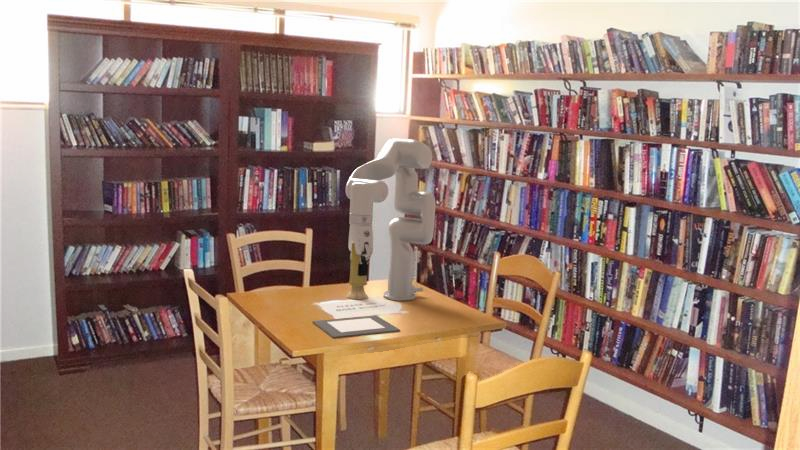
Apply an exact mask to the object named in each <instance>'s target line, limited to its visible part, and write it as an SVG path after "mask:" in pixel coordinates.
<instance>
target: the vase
mask: <svg viewBox="0 0 800 450" xmlns="http://www.w3.org/2000/svg"><path fill="white" fill-rule="evenodd" d="M362 254H365V253H362ZM363 257H365V256H362V259H363ZM358 264H360V263H359V255H358V254H356V251H355V243H354V242H352V251H351V266H350V265H349V279H348V280H349V281H348V285H349V286H352V285H353V286H367V285H368V280H367V279H368V275H367V276H358Z"/></svg>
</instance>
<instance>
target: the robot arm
mask: <svg viewBox="0 0 800 450" xmlns="http://www.w3.org/2000/svg"><path fill="white" fill-rule="evenodd" d="M432 160H433V152H432V150H431V148H430V146H428V145H426V144H425V143H424V142H422V141H420V140H418V139H413V138H412V139H411V138H398V137H397V138H396V137H395V138H390V139H387V141H386V142H385V143H384V144H383V146H382V148H381V150H379V153H378V154H377V156H376V158H375V159H372V160H370V161H368V162H366V163H364V164H362V165H361V166H358V167H357V168H355V170H354V171H353V172H352V173H351V175H350V176H349V178H348V180H347V182H346V183H345V184H346V185H345V195H346V197H347V198H348V199H349V218H348V219H349V221H348V222H349V223H348V224H349V232H348V241H347V242H348V245H347V246H348V250H349V254H350V255H349V267H350V266H351V251H352V242H354V243H355V251H356V254H358V255H359V263H360V264H358V276H367V277H368V270H369V268H368V267H369V266H368V265H369V261H370V259H371V257H372V255H373V252H374V234H373V233H374V232H373V217H374V215H373V214H374V203H375V204H376V203H378V204H379V203H382V202H384V201H386V199H387V197H388V196H389V187H388V184H387V183H386V182H385V181H382V180H386V179H389V178H392V177H393V176H395V185H394V205H393V206H394V210H395V212H397V213H399V214H404V215H410V216H411V215H412V216H419V217H420V218H413V217H405V216H398V217H397V216H396V217H394V218H392V219H391V220H390V222H389V223H388V236H389V258H388V259H389V261H388V280H387V282H388V283H387V291H384V293H383V297H384V298H385V299H387V300H392V301H397V302H399V301H400V302H402V301H403V302H404V301H405V302H406V301H407V302H408V301H412V300H415V299H416V295H417V294H416V293H418V292H419V293H422V292H424V288H423V286H418V285H417V286H416V285H413V282H414V281H413V280H414V278H413V277H414V264H415V262H414V260H415V259H414V258H415V252H414V249H413V247H412V246H411V244H417V245H429V244H430V243H431V242H432V240H433V237H434V232H435V219H436V198H435V195H434V194H433V193H432V192H431V191H427V190H419V189H418V180H419V179H418V178H419V177H418V174H417V172H416V170H415V169H418V170H419V169H422V170H424V169H425V170H426V169H428V168H429V167H430V166H431V164H432ZM362 253H365V254H362ZM362 256H365V257H363V259H362Z"/></svg>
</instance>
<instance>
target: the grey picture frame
mask: <svg viewBox="0 0 800 450" xmlns="http://www.w3.org/2000/svg"><path fill="white" fill-rule="evenodd" d="M312 324H314V325H315V326H316V327H318V328H320V330H322V331H323V332H324V333H325V334H327V335H329V337H331V338H332V339H338V338H340V339H341V338H347V337H348V338H349V337H358V336H368V335H377V334H385V333H386V334H387V333H395V332H396V333H397V332H400V331H401V329H399V328H398V327H396V326H395V325H393V324H391V323H390V322H388V321H386V320H385V319H383V318H382V317H380V316H379V315H376V314H375V315H363V316H356V317H355V316H353V317H343V318H342V317H341V318H334V319H333V318H332V319H331V318H329V319H322V320H312Z"/></svg>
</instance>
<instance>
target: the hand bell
mask: <svg viewBox="0 0 800 450" xmlns="http://www.w3.org/2000/svg"><path fill="white" fill-rule="evenodd" d="M346 298H347V299H350V300H366V299H368V298H369V297H368V294H367V293H366V292H365V287H364V286H353V285H351V287H350V291H349V292H348V293H347V294H346Z"/></svg>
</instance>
